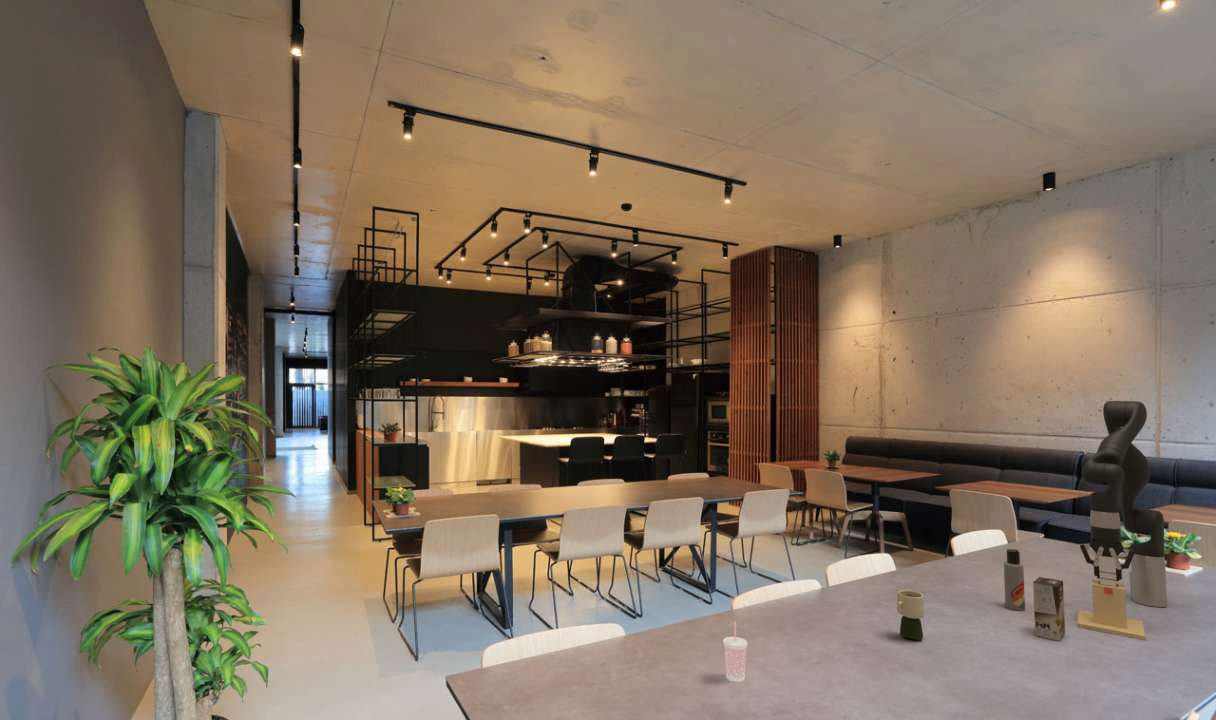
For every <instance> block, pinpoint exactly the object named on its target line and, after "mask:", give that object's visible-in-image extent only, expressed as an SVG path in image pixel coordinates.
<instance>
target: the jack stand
mask: <svg viewBox="0 0 1216 720" xmlns="http://www.w3.org/2000/svg"><path fill="white" fill-rule="evenodd" d="M1116 585H1117V587H1113V586H1107V585H1100V579H1098V578H1097V579H1096V578H1092V582H1091V589H1092V590H1091V591H1092V606H1093V607H1092V608H1093V612H1091V611H1085V610H1081V609H1080V610H1078V614H1077V615H1078V617H1077V628H1080V629H1085V630H1091V631H1095V630H1096V632H1100V631H1101V632H1102V633H1105V632H1106V634H1110V633H1112V634H1111V635H1116V634H1118V635H1117V636H1121V635H1123V636H1122V637H1126V636H1127V638H1131V637H1133V638H1132V639H1136V638H1138V639H1137V640H1141V639H1143V640H1142V641H1146V634H1145V628H1144V623H1143V621H1141V620H1137V619H1136V620H1135V619H1129V618H1127V600H1126V586H1125V585H1126V584H1125V583H1122V582H1116ZM1101 632H1100V633H1101Z"/></svg>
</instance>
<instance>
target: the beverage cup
mask: <svg viewBox="0 0 1216 720" xmlns="http://www.w3.org/2000/svg"><path fill="white" fill-rule="evenodd" d="M733 624H734V627H733V631H734V632H733V634H734V636H728V637H725V638H723V640H722V642H723V643H722V644H723V646H724V660H725V677H726V679H727V680H729V681H731V682H737V683H738V682H743V681H744V680H745V676H746V663H747V662H746V660H747V658H746V657H747V648H748V641H747V640H746V639H745V638H742V637H738V636H737V620H734V623H733Z"/></svg>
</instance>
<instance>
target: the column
mask: <svg viewBox="0 0 1216 720" xmlns="http://www.w3.org/2000/svg"><path fill="white" fill-rule="evenodd" d="M1098 566H1099V572H1100V579H1099V580H1100V585H1107V586H1113V587H1117V585H1116V583H1117V582H1118V581H1117V579H1116V565H1115V558H1114V557H1109V556H1099V564H1098Z"/></svg>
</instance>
